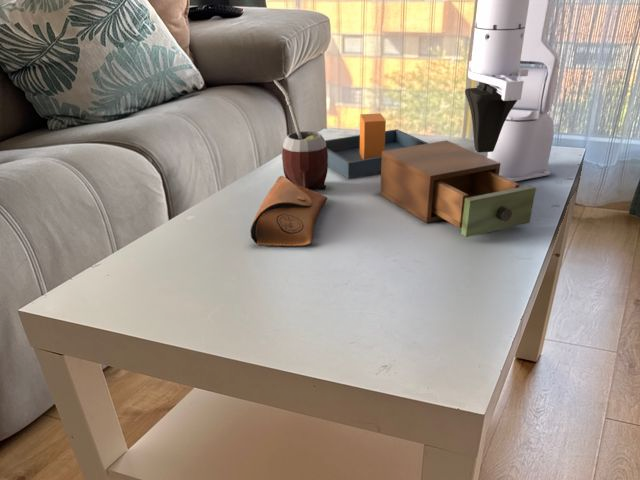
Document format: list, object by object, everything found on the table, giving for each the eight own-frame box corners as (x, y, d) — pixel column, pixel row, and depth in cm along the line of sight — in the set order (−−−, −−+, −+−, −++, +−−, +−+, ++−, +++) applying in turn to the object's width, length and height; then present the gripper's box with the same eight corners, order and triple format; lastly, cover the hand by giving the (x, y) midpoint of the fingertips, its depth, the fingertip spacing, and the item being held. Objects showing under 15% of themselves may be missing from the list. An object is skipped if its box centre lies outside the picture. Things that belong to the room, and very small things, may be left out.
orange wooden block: (379, 152, 113) (380, 113, 109) (384, 161, 109) (385, 120, 105) (359, 153, 113) (360, 114, 109) (363, 162, 109) (364, 121, 105)
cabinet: (494, 209, 91) (500, 163, 87) (426, 223, 88) (430, 176, 84) (442, 182, 101) (446, 140, 97) (380, 194, 98) (381, 151, 94)
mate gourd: (328, 196, 98) (326, 88, 88) (277, 197, 98) (270, 89, 88) (328, 180, 104) (326, 77, 94) (280, 181, 104) (273, 79, 94)
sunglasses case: (315, 243, 82) (286, 198, 79) (271, 268, 85) (242, 226, 82) (329, 196, 96) (305, 156, 93) (291, 219, 99) (267, 181, 96)
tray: (396, 143, 119) (397, 129, 118) (437, 162, 109) (438, 147, 108) (313, 156, 114) (312, 142, 113) (348, 178, 104) (348, 163, 102)
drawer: (535, 226, 84) (542, 190, 81) (471, 240, 81) (476, 203, 78) (475, 195, 94) (479, 162, 91) (415, 207, 91) (418, 173, 88)
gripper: (558, 33, 68) (534, 165, 76) (512, 18, 79) (496, 134, 88) (493, 36, 67) (477, 168, 76) (457, 20, 79) (446, 137, 87)
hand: (484, 150), depth 82 cm, fingers closed
